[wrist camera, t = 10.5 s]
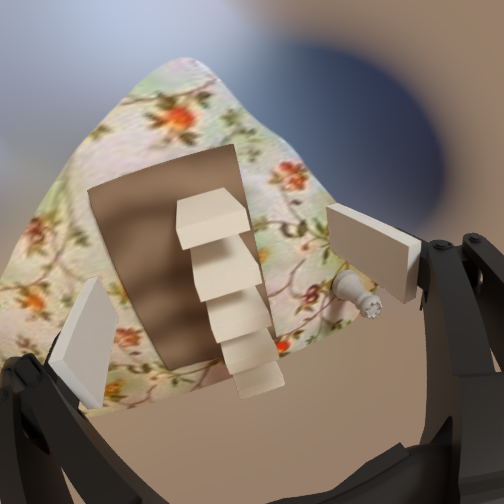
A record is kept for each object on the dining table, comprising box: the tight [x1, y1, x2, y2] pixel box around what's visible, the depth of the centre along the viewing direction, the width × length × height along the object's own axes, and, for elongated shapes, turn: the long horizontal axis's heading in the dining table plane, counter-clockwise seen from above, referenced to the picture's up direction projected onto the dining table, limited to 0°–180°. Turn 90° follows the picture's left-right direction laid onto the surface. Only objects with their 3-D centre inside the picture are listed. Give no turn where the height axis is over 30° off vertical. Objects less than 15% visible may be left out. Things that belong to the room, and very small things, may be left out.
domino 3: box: [206, 286, 272, 343], centre depth 27 cm, size 2×5×10 cm, turn 102°
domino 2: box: [190, 234, 262, 302], centre depth 25 cm, size 2×5×10 cm, turn 102°
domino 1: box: [176, 188, 250, 250], centre depth 24 cm, size 2×5×10 cm, turn 102°
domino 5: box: [233, 360, 285, 399], centre depth 31 cm, size 2×5×10 cm, turn 102°
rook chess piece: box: [332, 270, 382, 319], centre depth 35 cm, size 4×4×8 cm
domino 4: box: [220, 328, 279, 375], centre depth 29 cm, size 2×5×10 cm, turn 102°
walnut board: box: [87, 144, 277, 370], centre depth 32 cm, size 26×16×2 cm, turn 12°
